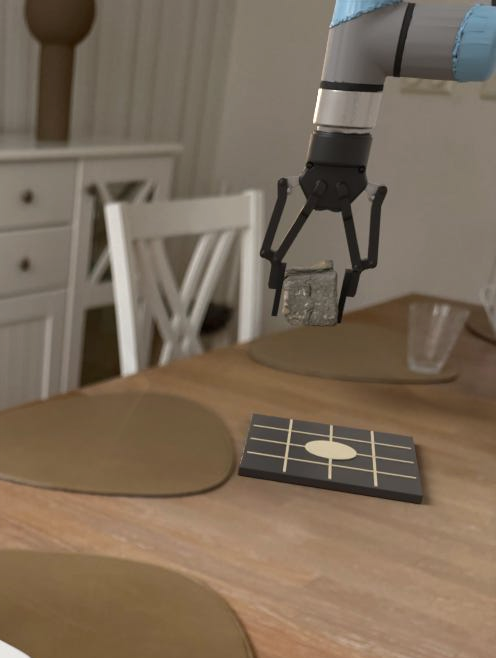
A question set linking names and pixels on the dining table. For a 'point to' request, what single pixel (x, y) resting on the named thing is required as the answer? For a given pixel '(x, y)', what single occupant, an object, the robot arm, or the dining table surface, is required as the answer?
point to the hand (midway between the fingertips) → (306, 317)
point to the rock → (311, 295)
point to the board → (332, 458)
